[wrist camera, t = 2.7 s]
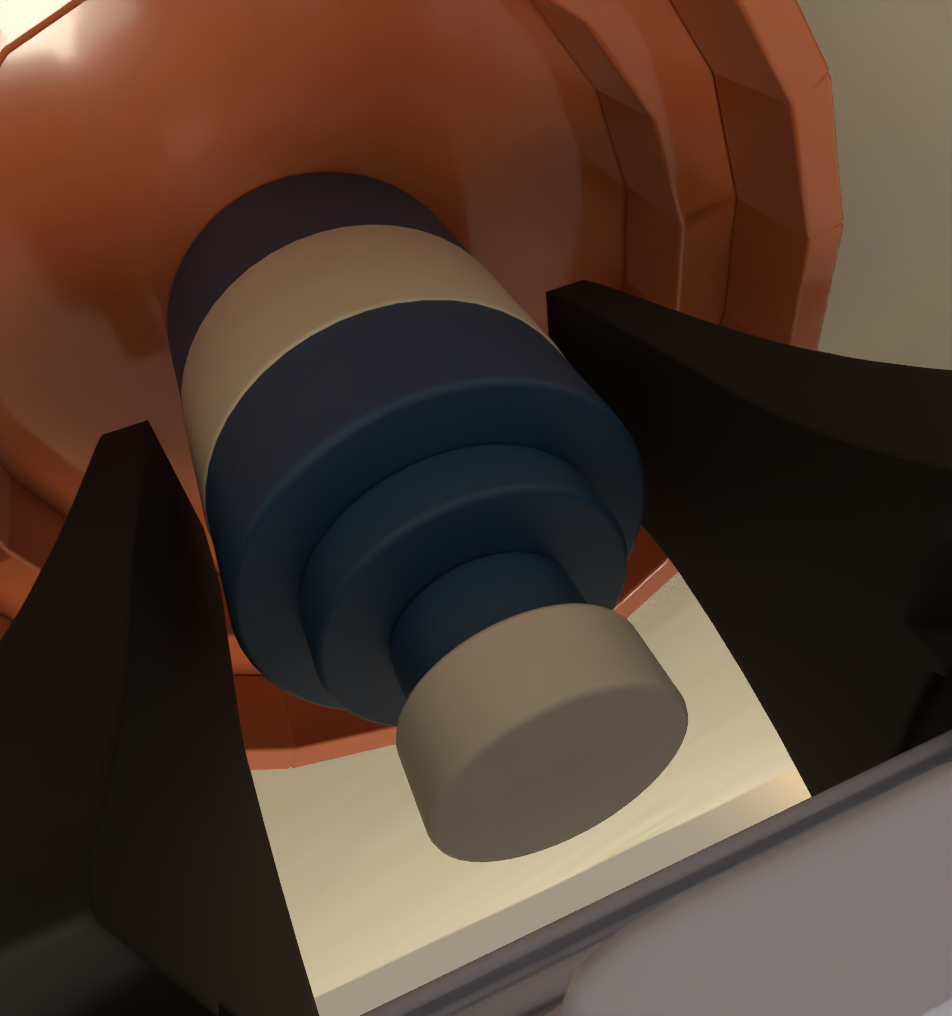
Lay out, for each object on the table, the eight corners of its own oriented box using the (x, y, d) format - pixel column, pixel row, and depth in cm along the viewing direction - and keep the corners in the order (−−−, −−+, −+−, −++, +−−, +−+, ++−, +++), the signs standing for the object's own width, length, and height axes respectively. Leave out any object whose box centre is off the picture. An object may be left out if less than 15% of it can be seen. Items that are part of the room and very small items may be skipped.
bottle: (447, 129, 12) (859, 483, 6) (485, 400, 16) (767, 796, 9) (105, 222, 11) (181, 755, 5) (228, 488, 15) (360, 990, 9)
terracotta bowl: (721, -356, 10) (978, -409, 7) (668, 478, 20) (768, 590, 17) (-619, -137, 7) (-1014, -87, 5) (87, 699, 17) (96, 874, 15)
